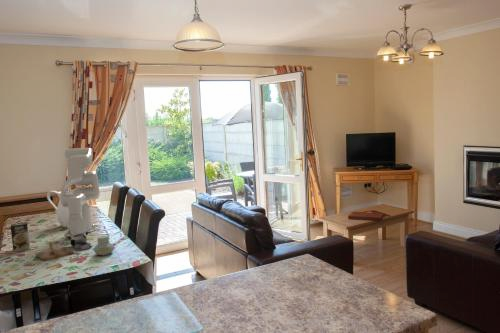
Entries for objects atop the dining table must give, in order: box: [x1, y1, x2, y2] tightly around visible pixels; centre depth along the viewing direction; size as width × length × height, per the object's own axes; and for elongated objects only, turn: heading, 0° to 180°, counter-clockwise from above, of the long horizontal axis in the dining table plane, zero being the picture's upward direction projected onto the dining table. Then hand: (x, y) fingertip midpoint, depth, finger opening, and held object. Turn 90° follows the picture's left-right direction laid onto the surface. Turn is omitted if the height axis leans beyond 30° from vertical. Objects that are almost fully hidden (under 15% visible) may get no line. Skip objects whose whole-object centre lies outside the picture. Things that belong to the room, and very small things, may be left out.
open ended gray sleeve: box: [72, 235, 92, 251], centre depth 239 cm, size 14×6×5 cm, turn 43°
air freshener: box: [93, 235, 115, 256], centre depth 223 cm, size 11×8×10 cm
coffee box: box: [10, 222, 31, 252], centre depth 241 cm, size 9×6×16 cm
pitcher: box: [46, 187, 77, 228], centre depth 295 cm, size 24×17×28 cm
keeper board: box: [35, 241, 74, 262], centre depth 226 cm, size 16×14×8 cm
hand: (79, 244), depth 242 cm, fingers closed on open ended gray sleeve, 6 cm apart
